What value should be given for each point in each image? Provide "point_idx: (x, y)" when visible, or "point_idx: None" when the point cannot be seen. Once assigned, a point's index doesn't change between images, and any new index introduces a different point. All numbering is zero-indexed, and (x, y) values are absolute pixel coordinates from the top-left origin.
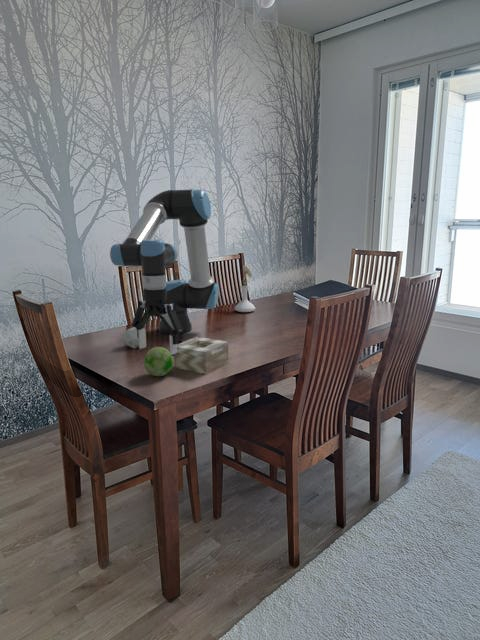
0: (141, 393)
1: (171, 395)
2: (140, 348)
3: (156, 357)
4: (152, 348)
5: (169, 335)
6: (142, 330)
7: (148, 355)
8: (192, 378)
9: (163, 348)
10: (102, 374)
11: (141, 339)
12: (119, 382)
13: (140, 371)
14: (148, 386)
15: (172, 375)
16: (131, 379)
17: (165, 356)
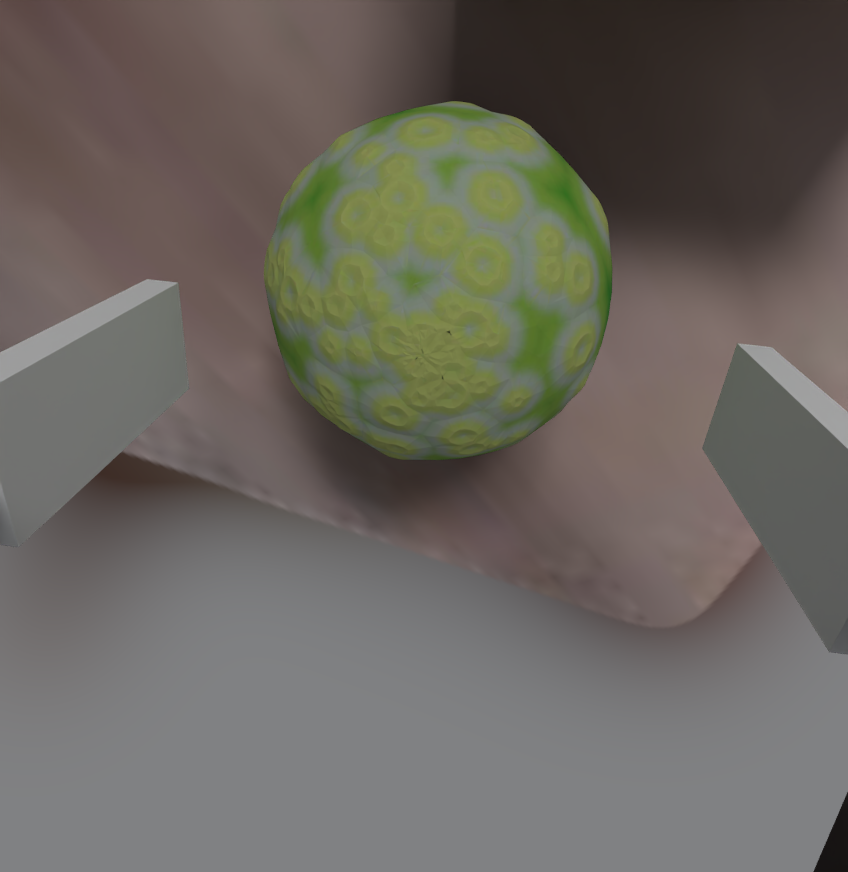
0: (535, 584)
1: (754, 550)
2: (178, 389)
3: (499, 448)
4: (342, 361)
5: (826, 645)
6: (17, 473)
7: (385, 452)
8: (806, 189)
9: (494, 306)
10: None
11: (121, 427)
12: (265, 494)
13: (219, 238)
14: (508, 483)
15: None
16: (296, 421)
17: (580, 374)
